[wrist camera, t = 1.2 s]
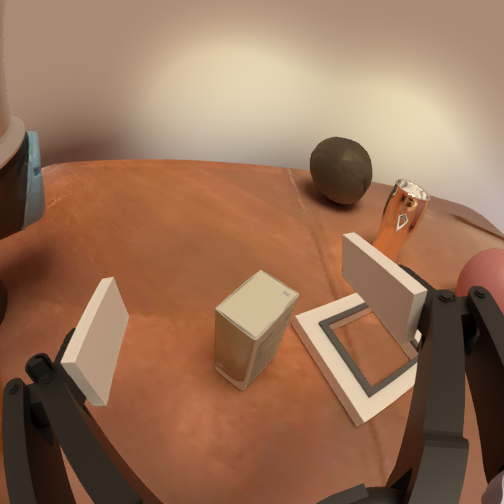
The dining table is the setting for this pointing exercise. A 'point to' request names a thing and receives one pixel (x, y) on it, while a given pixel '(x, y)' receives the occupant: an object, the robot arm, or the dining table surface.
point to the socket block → (342, 365)
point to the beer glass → (400, 217)
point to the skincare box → (251, 327)
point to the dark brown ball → (341, 169)
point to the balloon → (484, 275)
